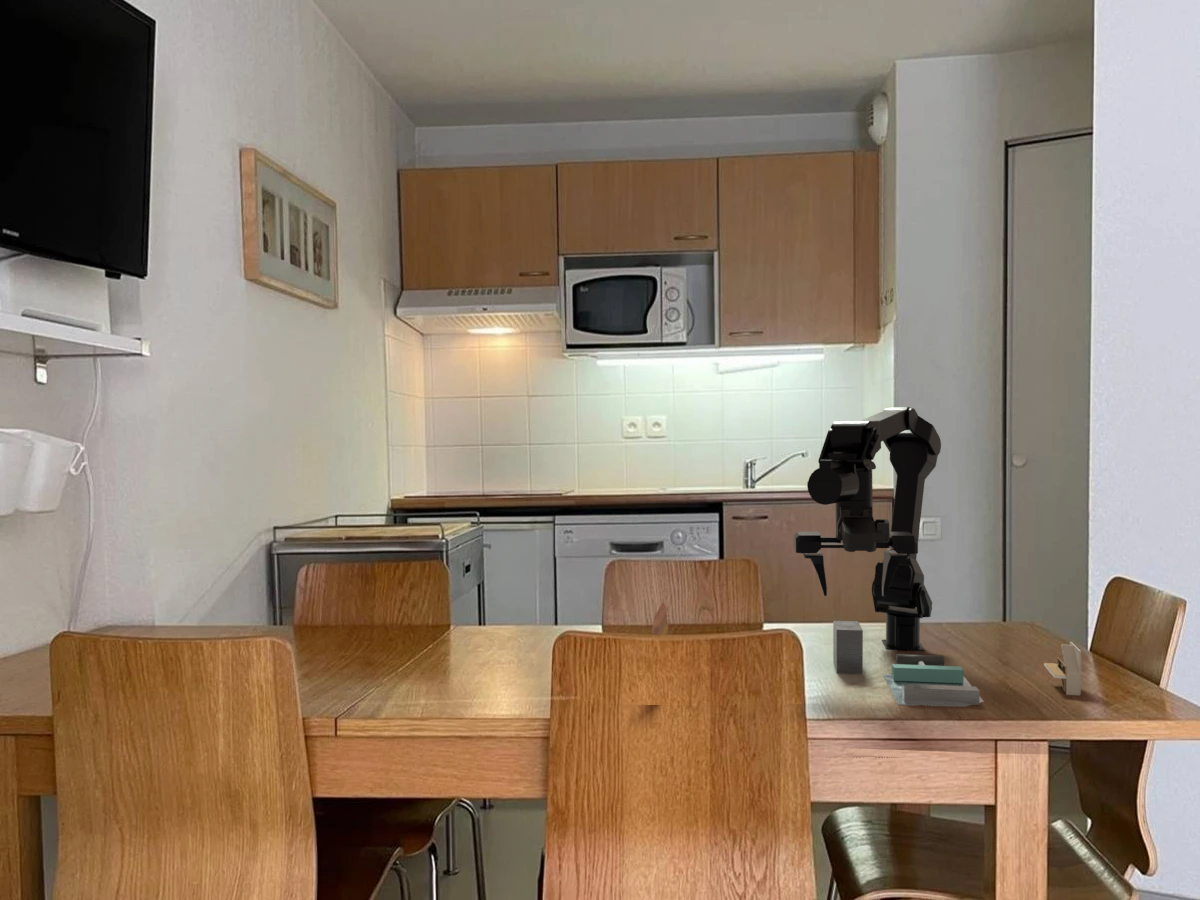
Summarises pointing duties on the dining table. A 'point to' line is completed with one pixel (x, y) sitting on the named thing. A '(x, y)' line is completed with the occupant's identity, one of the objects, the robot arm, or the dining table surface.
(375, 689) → the dining table surface
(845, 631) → the steel block
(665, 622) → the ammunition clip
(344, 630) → the dining table surface
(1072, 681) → the architectural model
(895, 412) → the robot arm
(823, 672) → the dining table surface
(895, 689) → the vise base
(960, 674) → the free jaw
